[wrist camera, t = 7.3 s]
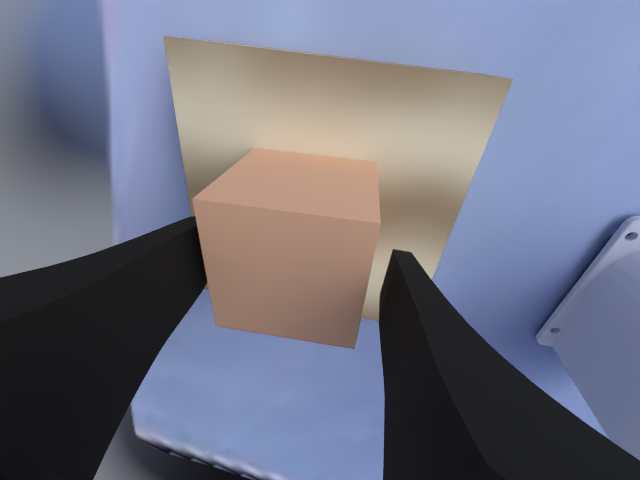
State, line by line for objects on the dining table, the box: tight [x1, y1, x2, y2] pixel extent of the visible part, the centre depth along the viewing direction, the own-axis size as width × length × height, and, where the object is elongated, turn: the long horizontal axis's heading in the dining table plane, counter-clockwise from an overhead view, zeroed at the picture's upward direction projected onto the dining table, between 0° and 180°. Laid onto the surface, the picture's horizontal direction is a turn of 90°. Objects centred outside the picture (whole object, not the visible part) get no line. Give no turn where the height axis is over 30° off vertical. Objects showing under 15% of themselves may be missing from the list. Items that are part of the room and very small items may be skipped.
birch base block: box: [163, 36, 513, 321], centre depth 15 cm, size 12×12×4 cm
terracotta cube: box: [192, 148, 381, 349], centre depth 11 cm, size 5×5×5 cm
